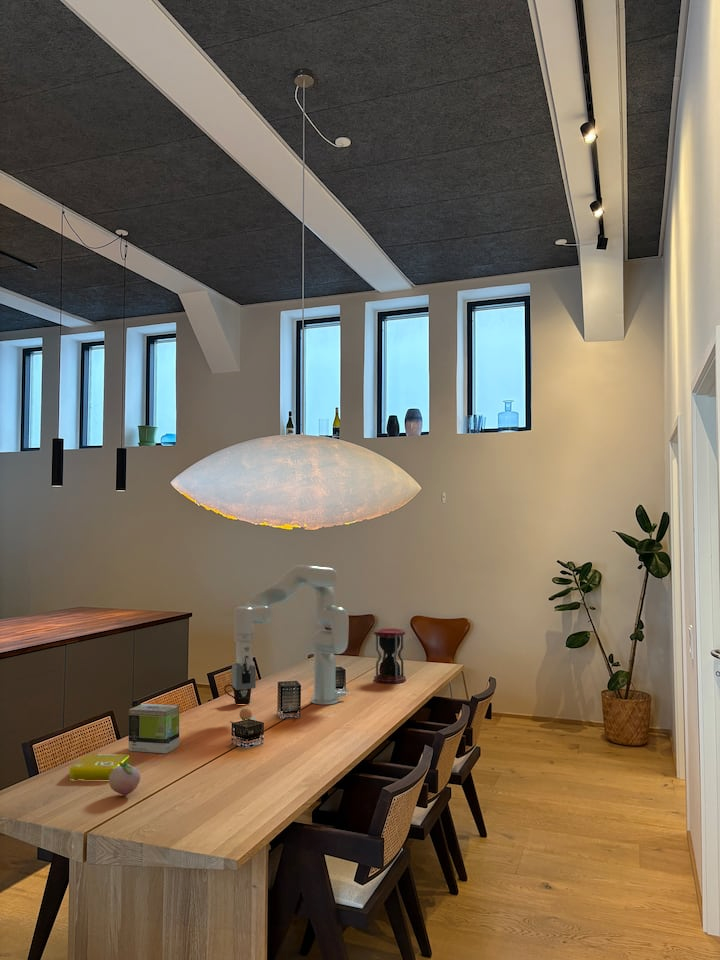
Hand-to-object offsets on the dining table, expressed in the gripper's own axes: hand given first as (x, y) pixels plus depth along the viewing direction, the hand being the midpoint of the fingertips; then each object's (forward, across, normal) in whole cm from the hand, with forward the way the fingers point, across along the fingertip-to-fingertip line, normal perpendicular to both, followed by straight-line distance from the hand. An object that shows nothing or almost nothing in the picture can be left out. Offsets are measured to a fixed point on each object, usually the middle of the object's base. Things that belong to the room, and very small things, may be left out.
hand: (243, 680), depth 304 cm
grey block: (+2, 0, 0) cm, 2 cm away
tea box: (+16, -24, +38) cm, 48 cm away
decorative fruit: (+16, -68, +52) cm, 87 cm away
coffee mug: (+16, +29, -5) cm, 34 cm away
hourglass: (+16, +46, -86) cm, 99 cm away
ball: (+13, 0, -1) cm, 13 cm away
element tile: (+16, -44, +57) cm, 74 cm away
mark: (+16, 0, 0) cm, 16 cm away
